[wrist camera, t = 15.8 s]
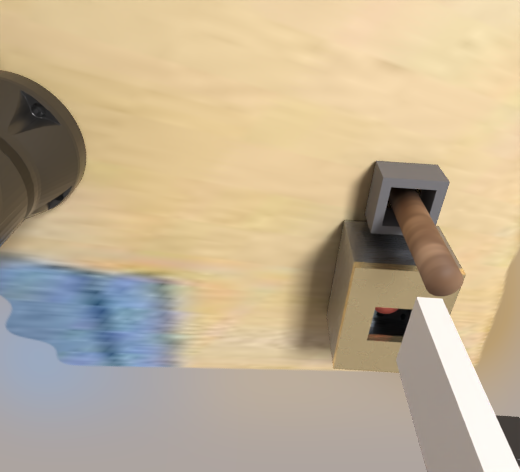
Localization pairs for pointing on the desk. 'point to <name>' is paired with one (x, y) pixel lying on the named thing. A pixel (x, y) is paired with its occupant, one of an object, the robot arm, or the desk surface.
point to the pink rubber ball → (385, 310)
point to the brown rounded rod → (425, 243)
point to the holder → (403, 177)
